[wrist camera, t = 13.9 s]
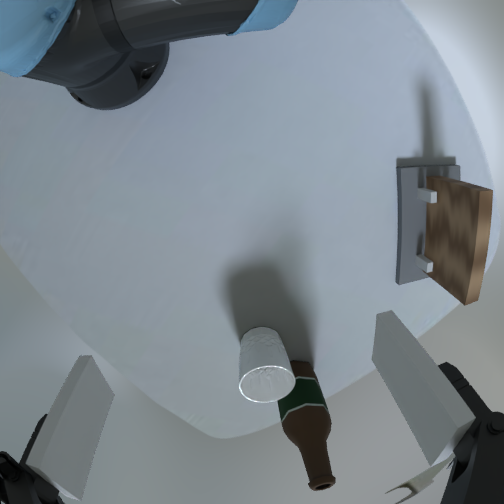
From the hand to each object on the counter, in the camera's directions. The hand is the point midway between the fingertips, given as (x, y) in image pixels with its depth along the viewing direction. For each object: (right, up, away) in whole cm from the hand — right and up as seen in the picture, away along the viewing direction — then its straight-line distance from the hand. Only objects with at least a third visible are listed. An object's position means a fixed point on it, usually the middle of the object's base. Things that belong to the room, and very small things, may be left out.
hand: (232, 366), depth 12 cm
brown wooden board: (+30, +9, +28) cm, 42 cm away
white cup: (+2, -10, +35) cm, 36 cm away
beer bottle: (+9, -17, +38) cm, 43 cm away
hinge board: (+30, +10, +29) cm, 43 cm away
